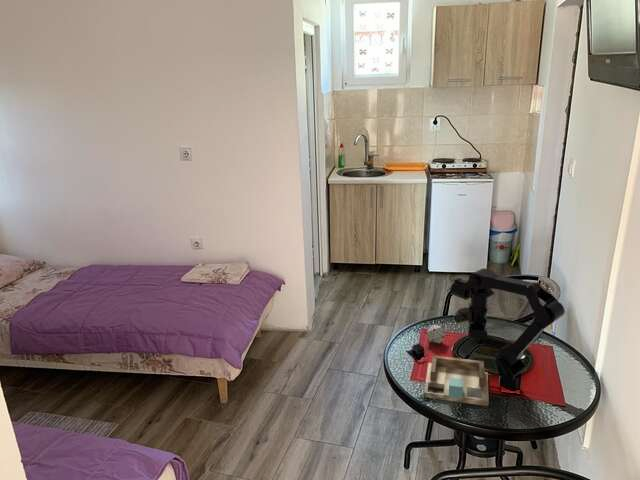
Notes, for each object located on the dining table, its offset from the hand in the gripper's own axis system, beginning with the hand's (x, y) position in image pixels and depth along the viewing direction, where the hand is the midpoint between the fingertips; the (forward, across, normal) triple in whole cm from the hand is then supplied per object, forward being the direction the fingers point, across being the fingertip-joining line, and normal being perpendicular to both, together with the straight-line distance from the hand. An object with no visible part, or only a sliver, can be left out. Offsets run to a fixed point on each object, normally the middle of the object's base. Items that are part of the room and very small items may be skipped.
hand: (476, 342), depth 180 cm
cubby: (+10, +7, -6) cm, 13 cm away
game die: (+12, -17, -15) cm, 26 cm away
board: (+12, +10, -6) cm, 17 cm away
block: (+10, +18, -6) cm, 21 cm away
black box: (+13, -6, -21) cm, 25 cm away
